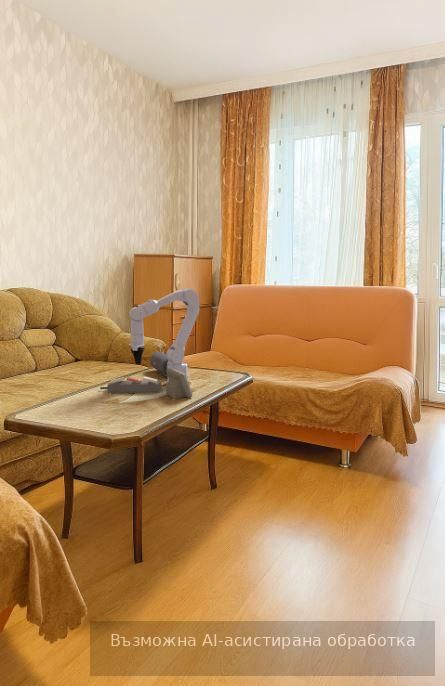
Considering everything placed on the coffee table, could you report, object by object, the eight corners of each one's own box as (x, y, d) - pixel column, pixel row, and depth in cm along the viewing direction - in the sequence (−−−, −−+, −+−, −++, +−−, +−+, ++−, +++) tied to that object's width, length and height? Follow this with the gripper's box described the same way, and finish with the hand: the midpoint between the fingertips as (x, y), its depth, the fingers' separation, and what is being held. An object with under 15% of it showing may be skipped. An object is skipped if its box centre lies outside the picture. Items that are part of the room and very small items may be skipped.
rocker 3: (157, 381, 226) (157, 379, 225) (156, 383, 223) (157, 380, 223) (143, 378, 225) (144, 376, 225) (142, 379, 223) (143, 377, 223)
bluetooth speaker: (148, 370, 270) (148, 351, 269) (166, 369, 274) (165, 350, 273) (161, 379, 250) (160, 358, 248) (179, 377, 253) (179, 357, 252)
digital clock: (193, 398, 212) (193, 373, 210) (171, 400, 209) (171, 374, 208) (184, 390, 227) (184, 366, 226) (164, 391, 224) (163, 367, 223)
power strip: (161, 388, 230) (161, 379, 230) (158, 392, 222) (158, 383, 222) (102, 388, 231) (102, 379, 230) (98, 392, 223) (98, 383, 222)
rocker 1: (125, 378, 226) (124, 376, 225) (124, 379, 223) (123, 377, 223) (112, 382, 226) (111, 379, 226) (110, 383, 223) (109, 381, 223)
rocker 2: (141, 381, 226) (141, 379, 225) (140, 383, 223) (140, 380, 223) (127, 378, 226) (128, 376, 225) (126, 380, 223) (127, 377, 223)
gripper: (131, 332, 240) (132, 361, 242) (125, 336, 226) (126, 367, 228) (146, 332, 240) (147, 361, 242) (141, 336, 226) (142, 366, 228)
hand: (138, 364), depth 235 cm, fingers closed
